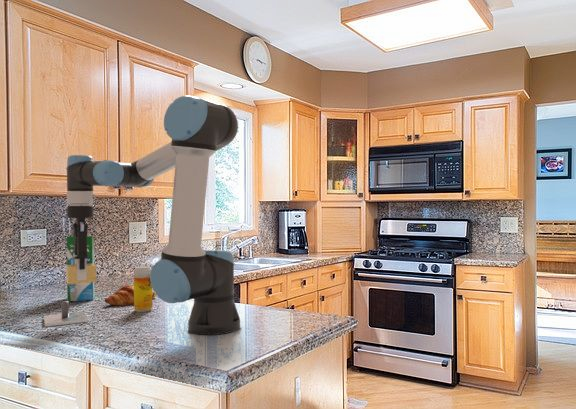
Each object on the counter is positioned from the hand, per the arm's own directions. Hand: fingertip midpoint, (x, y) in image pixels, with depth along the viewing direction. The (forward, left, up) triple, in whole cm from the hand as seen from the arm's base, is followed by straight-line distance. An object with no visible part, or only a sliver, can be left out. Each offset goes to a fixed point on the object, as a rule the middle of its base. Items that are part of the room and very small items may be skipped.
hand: (80, 277), depth 150 cm
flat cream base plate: (+6, +4, -14) cm, 16 cm away
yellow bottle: (+8, -21, -14) cm, 26 cm away
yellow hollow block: (0, 0, -1) cm, 1 cm away
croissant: (+24, -20, -14) cm, 35 cm away
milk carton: (+41, -3, -14) cm, 44 cm away
